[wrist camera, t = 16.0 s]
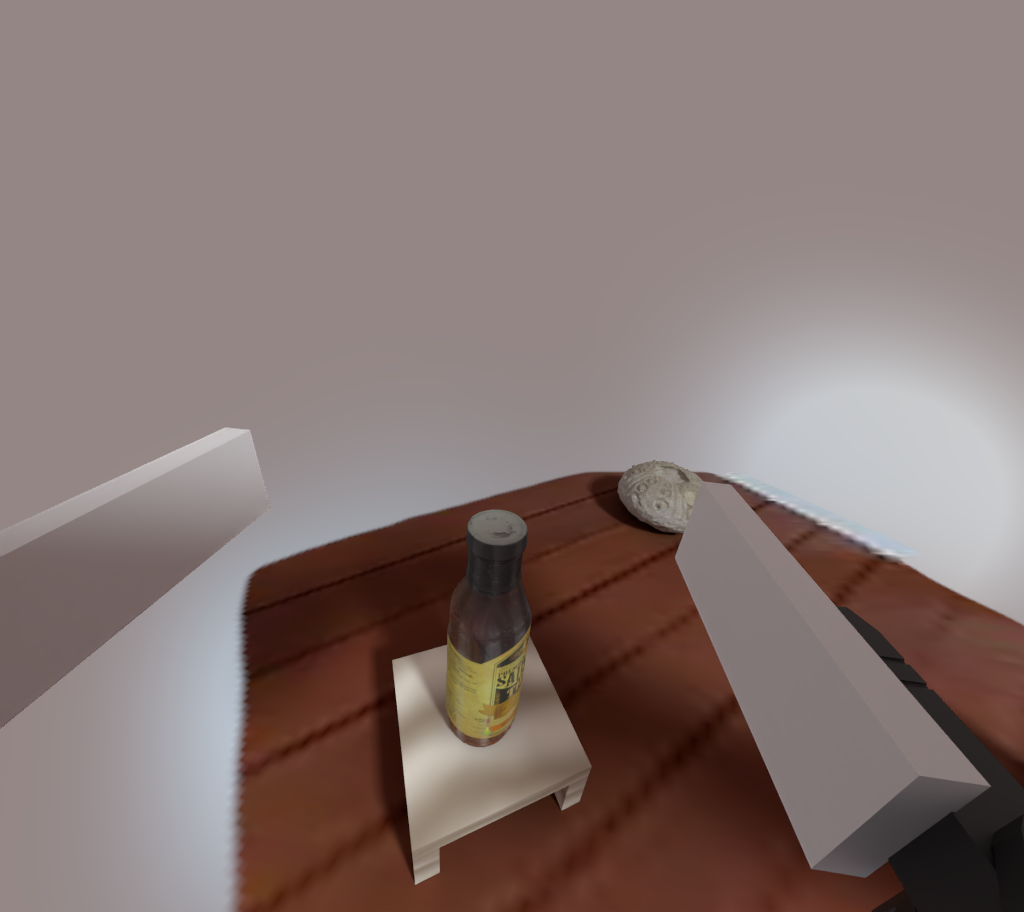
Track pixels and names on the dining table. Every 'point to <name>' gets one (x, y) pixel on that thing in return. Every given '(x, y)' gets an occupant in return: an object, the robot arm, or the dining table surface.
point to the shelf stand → (478, 757)
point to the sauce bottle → (488, 631)
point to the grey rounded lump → (660, 494)
